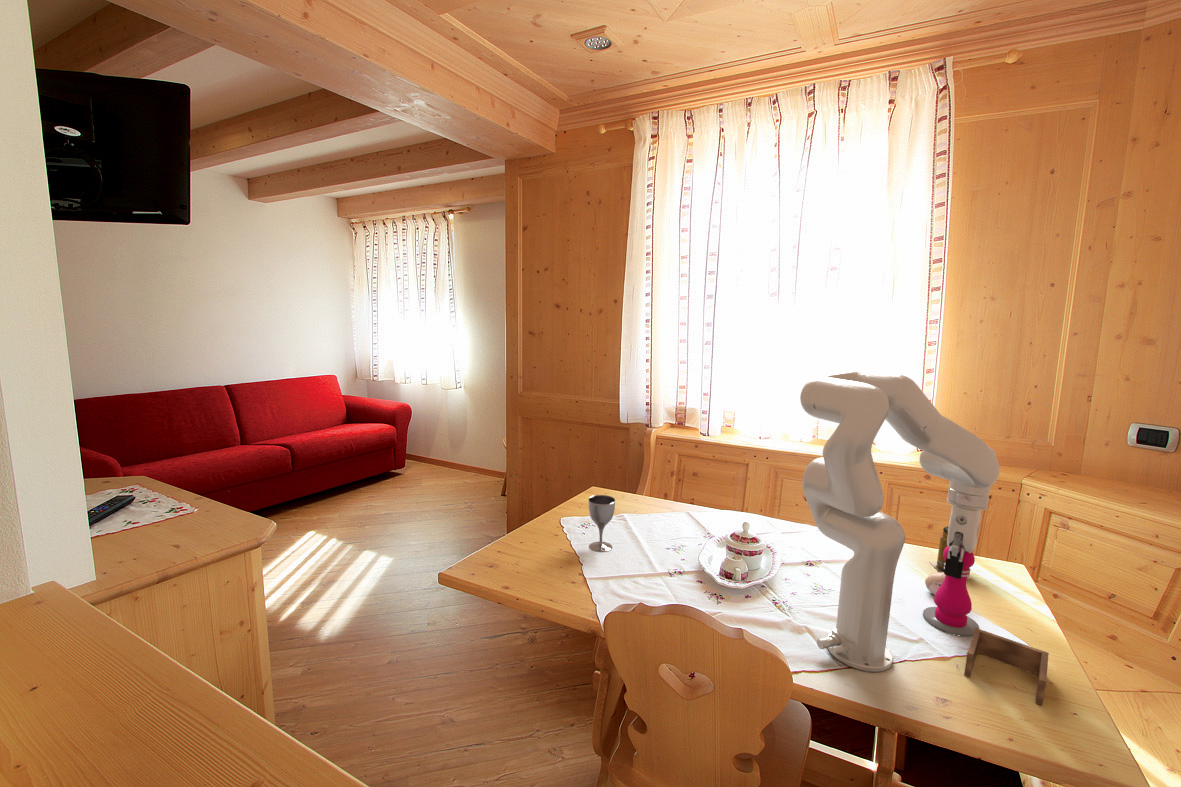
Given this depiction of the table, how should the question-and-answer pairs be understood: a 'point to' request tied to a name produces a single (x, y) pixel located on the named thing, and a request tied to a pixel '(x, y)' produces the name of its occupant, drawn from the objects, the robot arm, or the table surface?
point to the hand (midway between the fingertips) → (955, 569)
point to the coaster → (962, 631)
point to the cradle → (1009, 657)
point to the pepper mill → (954, 595)
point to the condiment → (942, 546)
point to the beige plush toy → (934, 581)
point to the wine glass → (601, 518)
